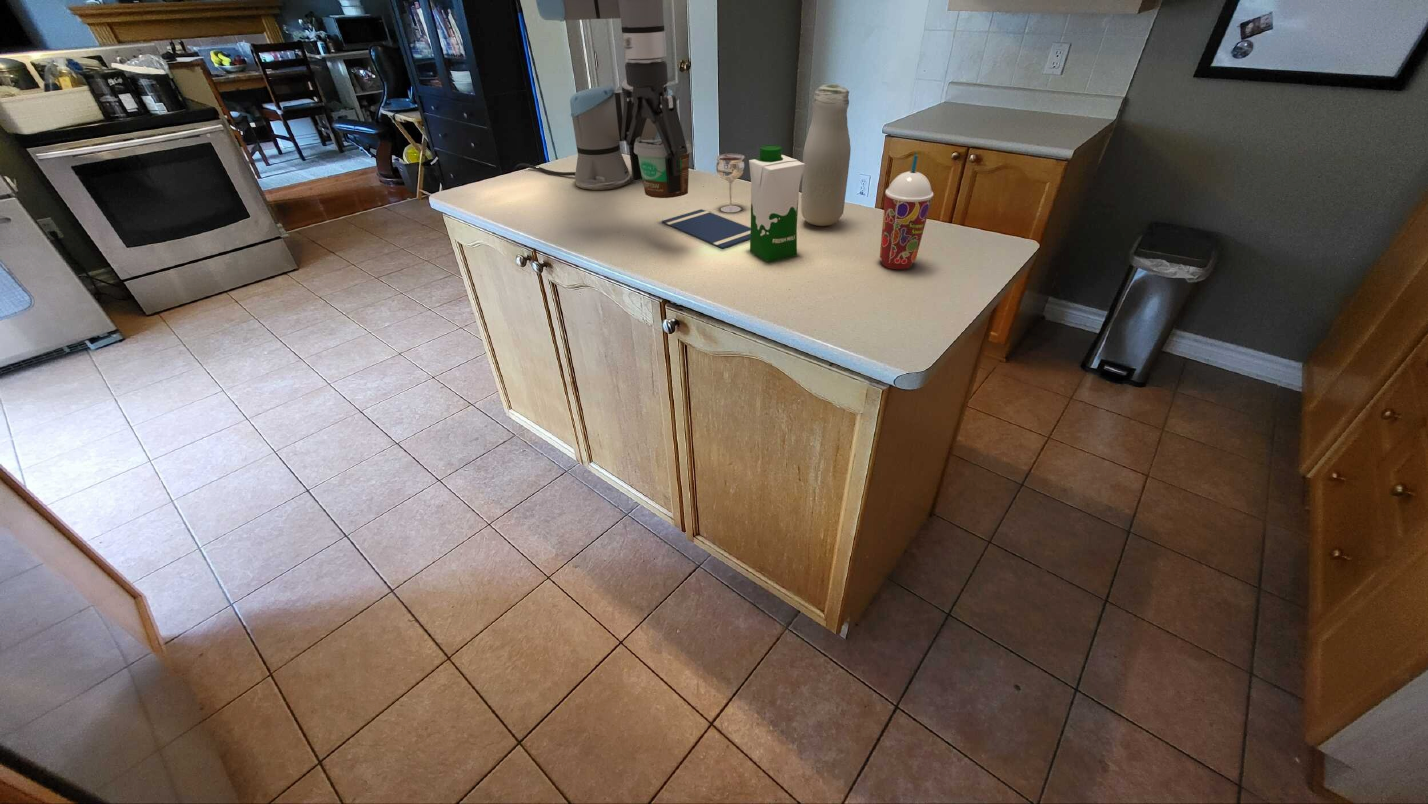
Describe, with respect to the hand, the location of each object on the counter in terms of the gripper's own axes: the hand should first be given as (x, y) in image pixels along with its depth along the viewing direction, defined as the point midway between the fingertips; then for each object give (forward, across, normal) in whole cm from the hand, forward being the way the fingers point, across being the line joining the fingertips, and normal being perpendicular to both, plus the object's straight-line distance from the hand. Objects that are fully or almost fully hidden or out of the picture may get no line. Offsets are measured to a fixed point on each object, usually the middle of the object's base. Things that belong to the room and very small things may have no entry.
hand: (656, 185), depth 114 cm
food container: (+2, +1, 0) cm, 2 cm away
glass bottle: (+13, +15, +34) cm, 39 cm away
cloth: (+12, 0, +14) cm, 19 cm away
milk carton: (+13, +20, +14) cm, 27 cm away
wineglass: (+12, -7, +26) cm, 30 cm away
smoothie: (+13, +40, +28) cm, 50 cm away
